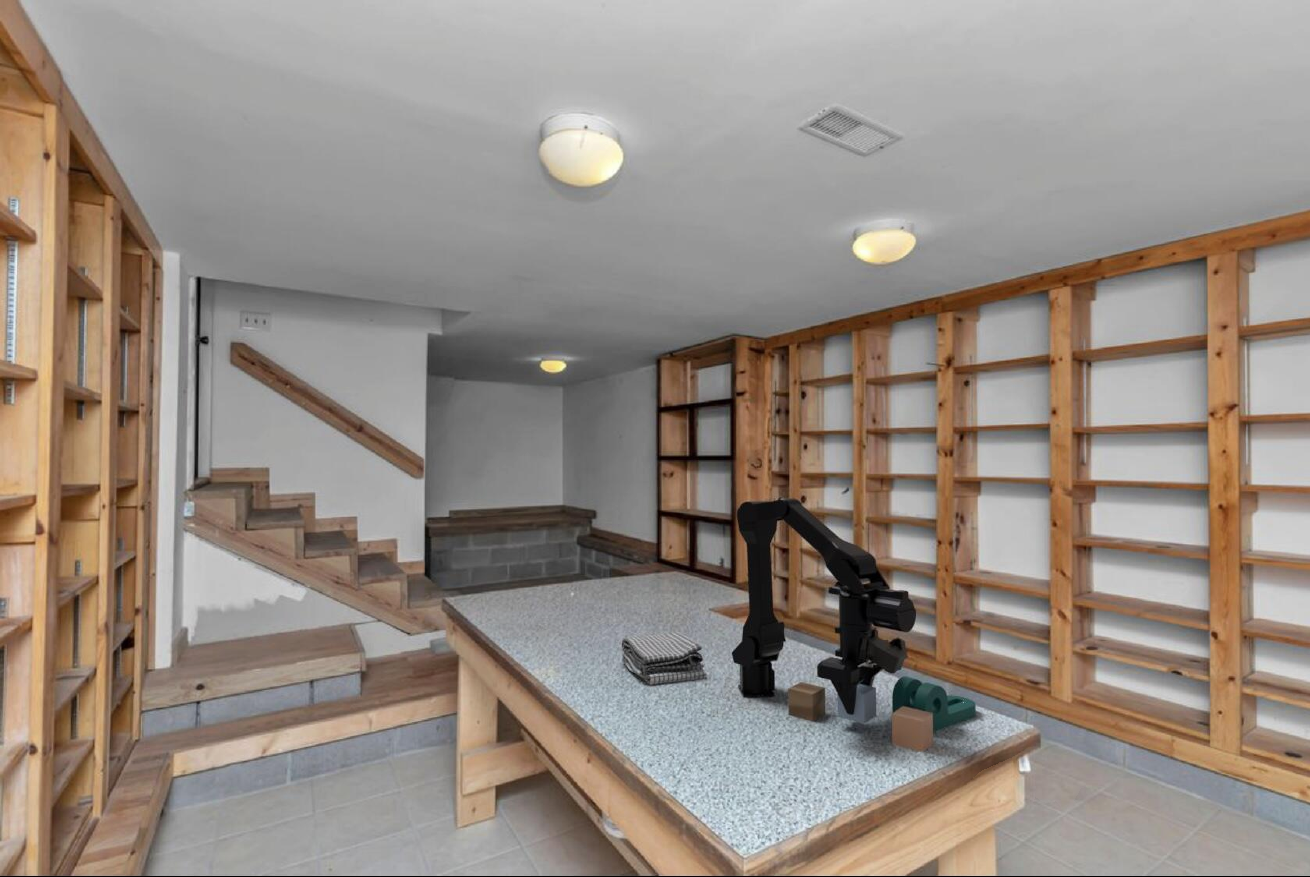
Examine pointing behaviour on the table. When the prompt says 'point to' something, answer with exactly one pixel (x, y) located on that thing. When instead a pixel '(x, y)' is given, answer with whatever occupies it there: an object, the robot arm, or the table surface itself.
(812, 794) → the table surface
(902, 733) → the terracotta cube
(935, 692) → the bracket
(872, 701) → the blue cube
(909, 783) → the table surface
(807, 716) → the walnut cube
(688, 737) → the table surface
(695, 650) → the towel
